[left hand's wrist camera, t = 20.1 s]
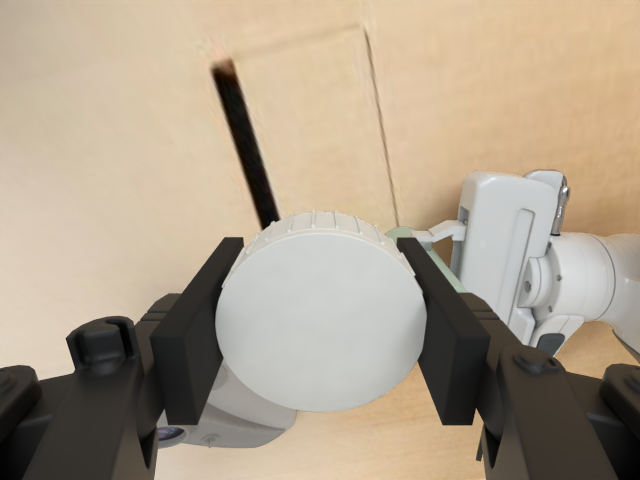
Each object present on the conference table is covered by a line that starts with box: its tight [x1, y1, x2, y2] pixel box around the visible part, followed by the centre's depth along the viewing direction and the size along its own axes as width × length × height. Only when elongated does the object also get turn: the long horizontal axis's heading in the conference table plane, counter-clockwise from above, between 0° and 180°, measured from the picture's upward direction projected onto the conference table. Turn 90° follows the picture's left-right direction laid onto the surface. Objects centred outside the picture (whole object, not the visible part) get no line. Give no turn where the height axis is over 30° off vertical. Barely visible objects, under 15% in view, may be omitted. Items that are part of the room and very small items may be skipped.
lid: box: [215, 210, 427, 412], centre depth 11 cm, size 6×6×2 cm
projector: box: [157, 359, 297, 449], centre depth 39 cm, size 22×23×15 cm
